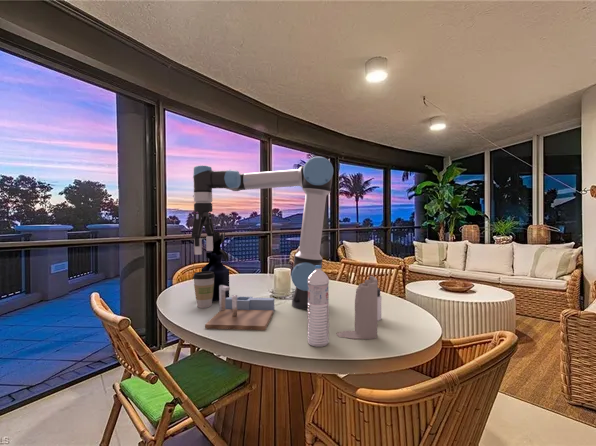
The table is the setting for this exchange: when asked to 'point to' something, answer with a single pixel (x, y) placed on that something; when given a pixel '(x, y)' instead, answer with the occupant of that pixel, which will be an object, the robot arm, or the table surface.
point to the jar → (378, 305)
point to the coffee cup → (204, 288)
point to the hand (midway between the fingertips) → (204, 252)
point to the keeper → (222, 296)
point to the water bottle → (318, 308)
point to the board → (241, 320)
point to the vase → (218, 266)
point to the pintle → (234, 305)
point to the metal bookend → (364, 312)
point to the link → (251, 303)
